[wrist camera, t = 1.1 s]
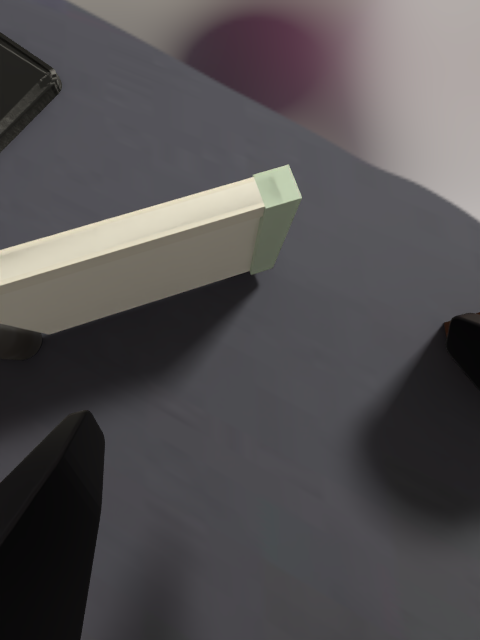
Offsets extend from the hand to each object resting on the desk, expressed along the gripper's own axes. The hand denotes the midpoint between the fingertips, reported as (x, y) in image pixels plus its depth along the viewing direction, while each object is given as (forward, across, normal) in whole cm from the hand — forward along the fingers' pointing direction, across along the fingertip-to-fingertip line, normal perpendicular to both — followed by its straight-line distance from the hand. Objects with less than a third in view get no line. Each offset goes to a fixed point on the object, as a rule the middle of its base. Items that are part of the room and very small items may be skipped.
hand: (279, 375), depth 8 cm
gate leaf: (+14, +4, +3) cm, 15 cm away
